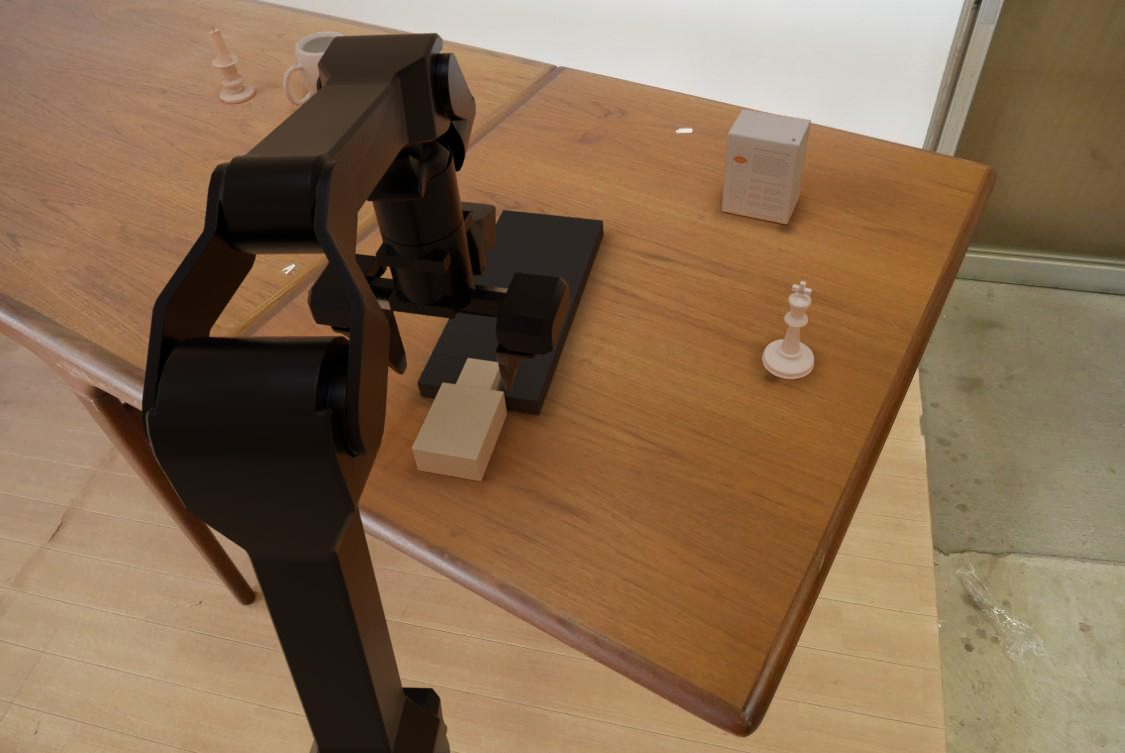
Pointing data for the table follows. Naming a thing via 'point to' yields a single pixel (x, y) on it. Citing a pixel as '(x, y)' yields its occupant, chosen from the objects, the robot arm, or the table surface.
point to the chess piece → (791, 340)
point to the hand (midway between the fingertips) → (455, 378)
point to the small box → (764, 165)
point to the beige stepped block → (463, 423)
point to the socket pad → (519, 249)
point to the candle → (229, 72)
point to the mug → (309, 62)
